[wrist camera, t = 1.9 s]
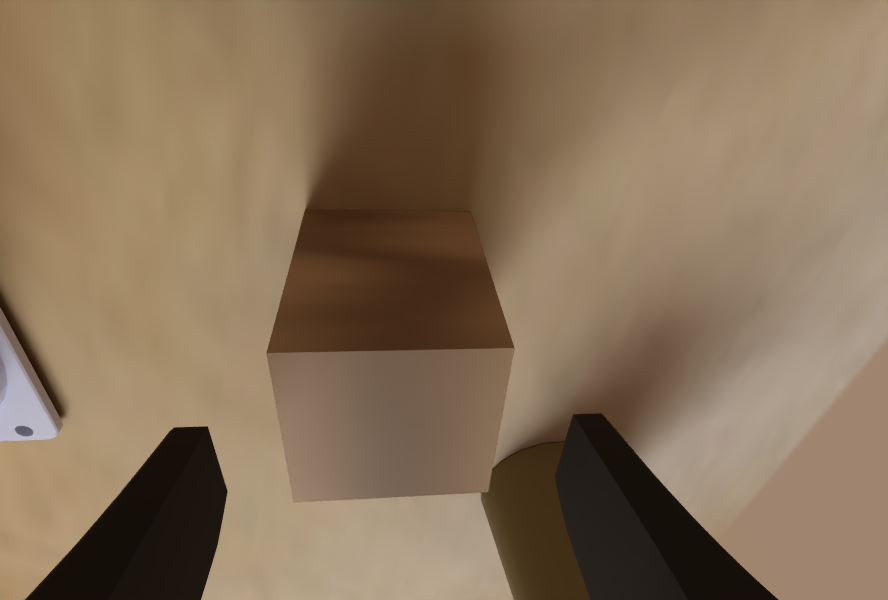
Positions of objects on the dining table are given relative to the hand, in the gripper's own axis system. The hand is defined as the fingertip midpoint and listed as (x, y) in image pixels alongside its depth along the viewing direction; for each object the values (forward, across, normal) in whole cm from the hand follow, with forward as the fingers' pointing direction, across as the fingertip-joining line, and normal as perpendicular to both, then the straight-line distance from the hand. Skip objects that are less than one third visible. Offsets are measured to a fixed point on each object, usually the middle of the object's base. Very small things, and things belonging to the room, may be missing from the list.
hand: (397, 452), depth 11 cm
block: (+6, 0, 0) cm, 7 cm away
